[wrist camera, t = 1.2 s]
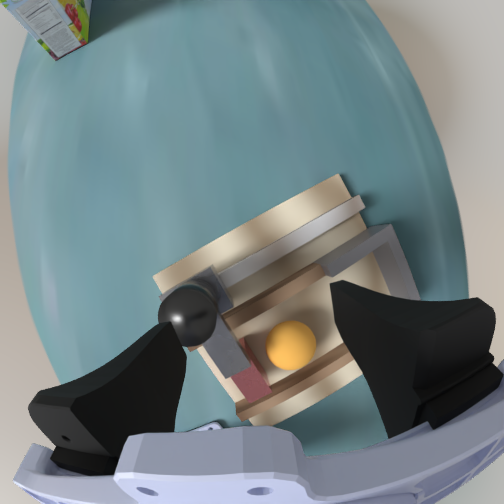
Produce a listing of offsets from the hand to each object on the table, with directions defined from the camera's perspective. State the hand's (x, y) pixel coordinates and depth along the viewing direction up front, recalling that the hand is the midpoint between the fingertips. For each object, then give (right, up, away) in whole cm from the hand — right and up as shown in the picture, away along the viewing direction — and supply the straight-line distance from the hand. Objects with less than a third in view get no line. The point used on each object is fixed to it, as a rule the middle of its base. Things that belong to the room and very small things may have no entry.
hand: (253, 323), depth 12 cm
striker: (-2, -3, +10) cm, 11 cm away
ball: (+3, -4, +9) cm, 10 cm away
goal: (+10, 0, +11) cm, 15 cm away
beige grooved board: (+4, -2, +12) cm, 13 cm away
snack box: (-25, +37, +9) cm, 46 cm away
